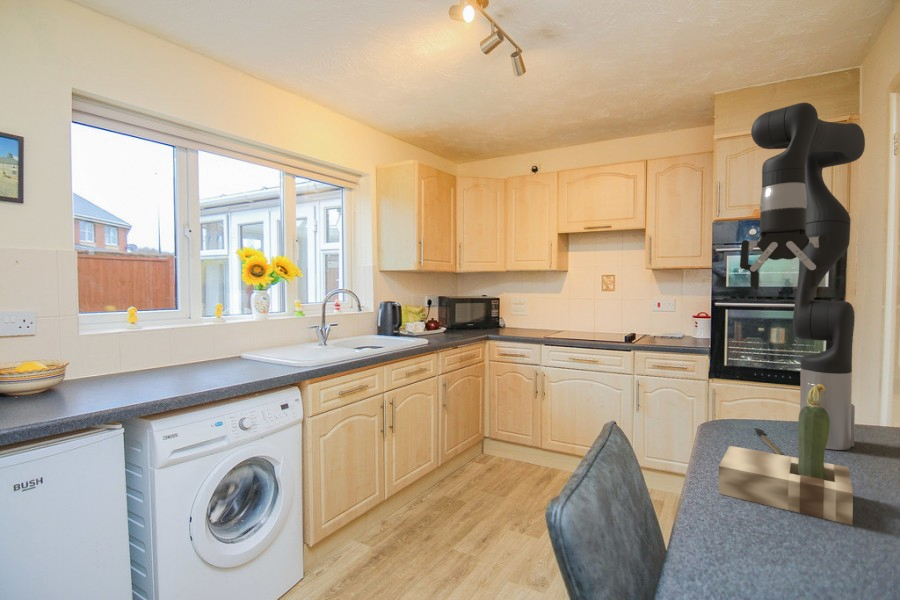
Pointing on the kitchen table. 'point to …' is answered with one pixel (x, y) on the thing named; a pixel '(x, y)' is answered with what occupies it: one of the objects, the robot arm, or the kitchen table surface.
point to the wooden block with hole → (786, 484)
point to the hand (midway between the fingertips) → (781, 289)
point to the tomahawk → (768, 441)
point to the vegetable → (812, 435)
